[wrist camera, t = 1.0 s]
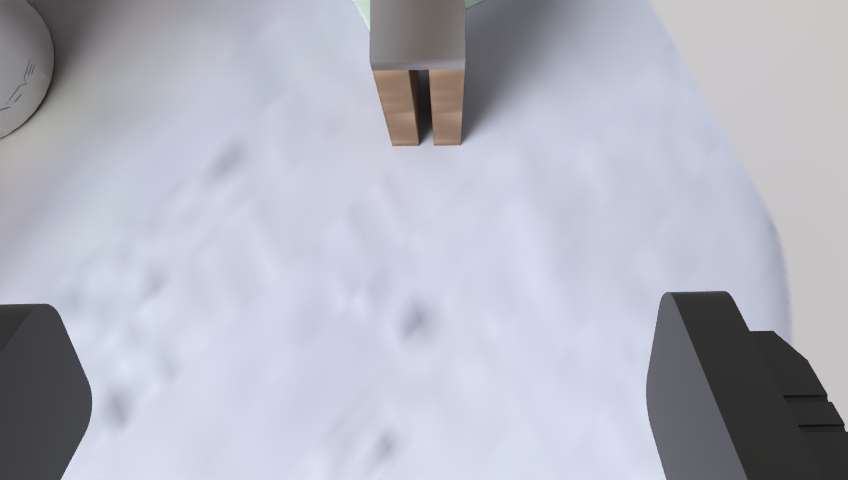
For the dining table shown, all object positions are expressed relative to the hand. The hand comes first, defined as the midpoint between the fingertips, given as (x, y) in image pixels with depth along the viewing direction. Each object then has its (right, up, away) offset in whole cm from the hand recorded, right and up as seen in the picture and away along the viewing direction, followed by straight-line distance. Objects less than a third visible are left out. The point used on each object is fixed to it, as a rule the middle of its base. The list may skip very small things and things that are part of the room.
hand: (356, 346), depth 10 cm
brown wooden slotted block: (+1, +8, +29) cm, 30 cm away
